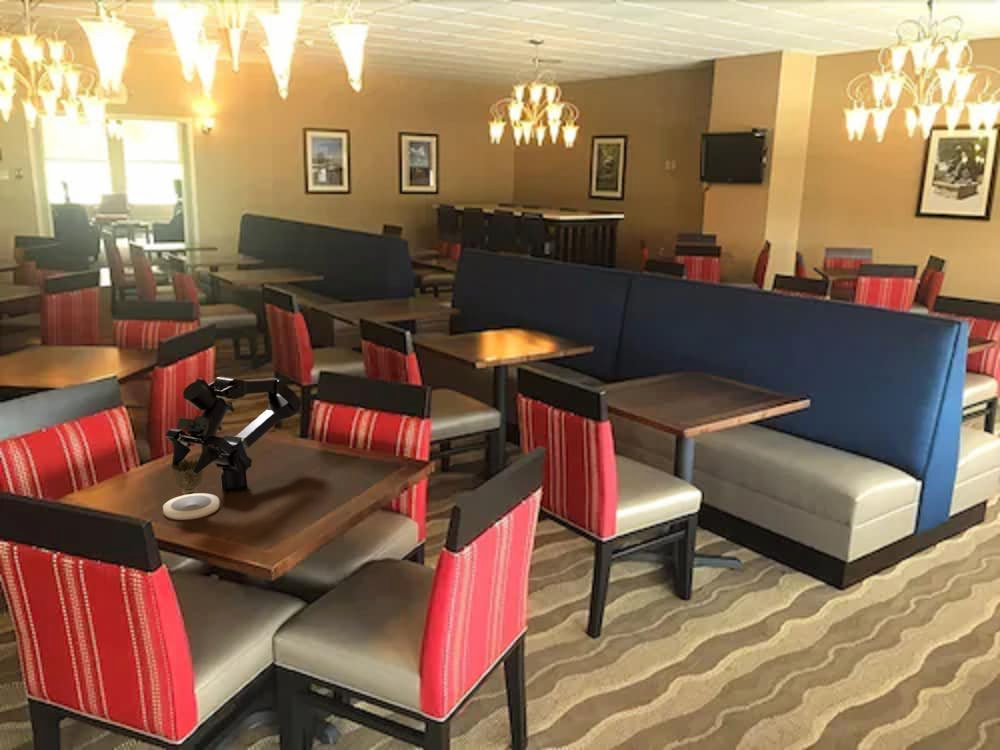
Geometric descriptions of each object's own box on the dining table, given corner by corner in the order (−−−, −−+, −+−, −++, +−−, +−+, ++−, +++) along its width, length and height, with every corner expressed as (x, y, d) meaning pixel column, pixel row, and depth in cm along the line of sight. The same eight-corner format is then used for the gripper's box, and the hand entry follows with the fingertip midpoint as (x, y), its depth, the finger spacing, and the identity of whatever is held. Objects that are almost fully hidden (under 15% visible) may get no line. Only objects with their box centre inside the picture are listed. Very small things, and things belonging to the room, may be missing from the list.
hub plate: (218, 495, 223) (217, 489, 223) (221, 514, 211) (220, 508, 210) (163, 502, 218) (162, 497, 218) (163, 523, 206) (162, 517, 205)
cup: (190, 484, 218) (188, 457, 216) (211, 490, 215) (208, 462, 213) (168, 494, 212) (166, 466, 210) (189, 500, 209) (186, 471, 207)
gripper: (166, 399, 215) (138, 452, 208) (220, 408, 207) (192, 462, 200) (192, 419, 224) (165, 470, 217) (244, 428, 216) (218, 481, 209)
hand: (184, 470), depth 211 cm, fingers closed on cup, 7 cm apart
